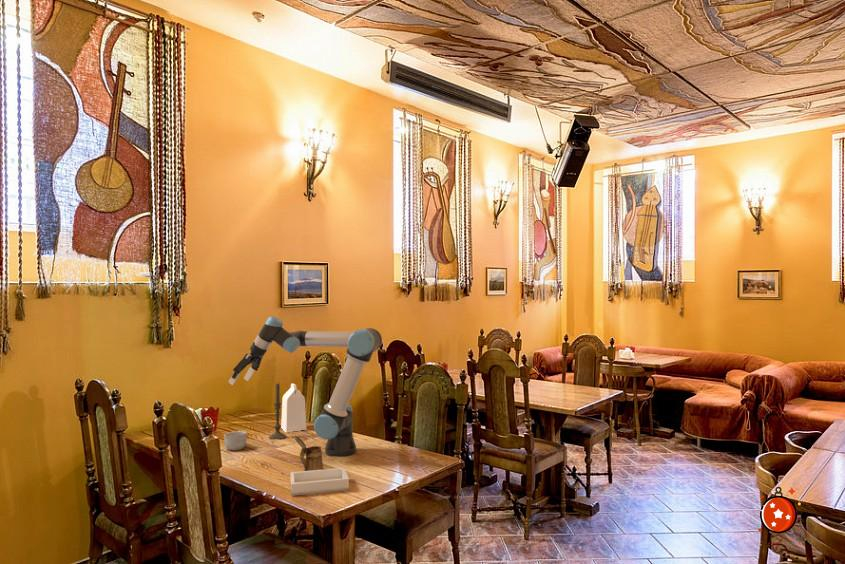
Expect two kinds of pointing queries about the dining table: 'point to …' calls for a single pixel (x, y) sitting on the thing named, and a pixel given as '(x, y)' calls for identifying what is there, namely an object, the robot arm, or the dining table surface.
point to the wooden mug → (310, 456)
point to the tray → (319, 481)
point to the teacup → (235, 440)
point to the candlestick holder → (277, 414)
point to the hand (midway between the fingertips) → (238, 381)
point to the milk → (293, 410)
